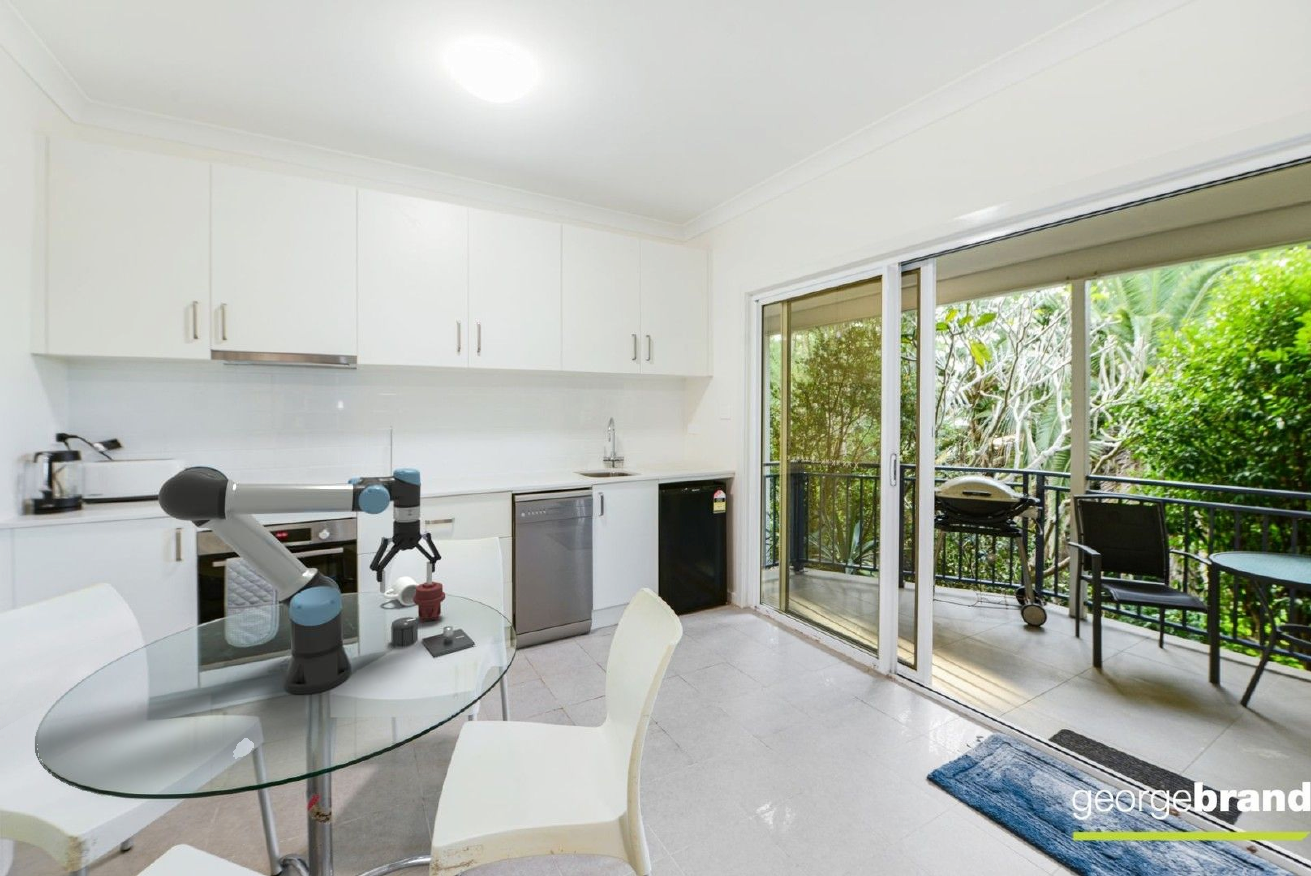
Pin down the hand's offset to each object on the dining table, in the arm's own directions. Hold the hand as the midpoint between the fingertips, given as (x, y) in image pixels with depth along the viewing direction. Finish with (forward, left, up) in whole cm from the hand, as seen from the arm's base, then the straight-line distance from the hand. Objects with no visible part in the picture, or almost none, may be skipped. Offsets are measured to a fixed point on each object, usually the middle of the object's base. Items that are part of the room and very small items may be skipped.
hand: (406, 587), depth 166 cm
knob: (-1, 0, -17) cm, 17 cm away
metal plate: (+9, -10, -17) cm, 22 cm away
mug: (+6, +32, -17) cm, 37 cm away
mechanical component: (+10, +12, -17) cm, 23 cm away
